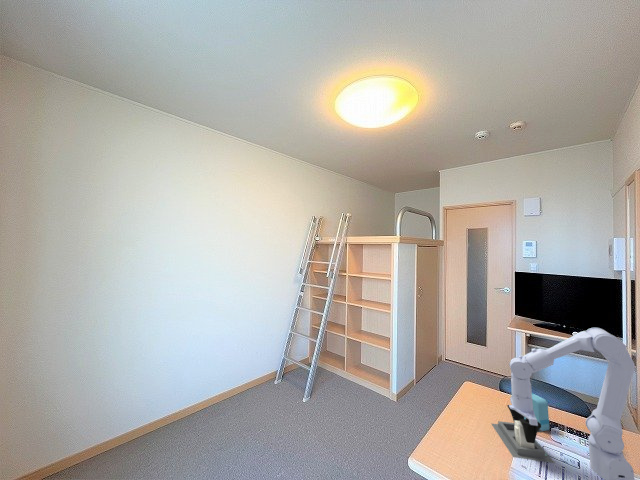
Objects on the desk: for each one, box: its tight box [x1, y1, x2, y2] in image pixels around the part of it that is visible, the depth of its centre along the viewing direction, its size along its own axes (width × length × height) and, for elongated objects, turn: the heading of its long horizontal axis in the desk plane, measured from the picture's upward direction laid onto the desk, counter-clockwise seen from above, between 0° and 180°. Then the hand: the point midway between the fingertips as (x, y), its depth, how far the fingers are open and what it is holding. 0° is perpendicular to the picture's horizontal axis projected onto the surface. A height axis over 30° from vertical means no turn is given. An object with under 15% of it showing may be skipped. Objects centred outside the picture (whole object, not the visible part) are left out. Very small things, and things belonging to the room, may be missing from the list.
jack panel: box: [491, 421, 556, 464], centre depth 96 cm, size 19×12×3 cm, turn 166°
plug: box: [513, 420, 543, 449], centre depth 92 cm, size 4×8×8 cm, turn 76°
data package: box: [510, 389, 550, 432], centre depth 108 cm, size 12×4×12 cm, turn 11°
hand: (524, 435), depth 93 cm, fingers open, 7 cm apart
